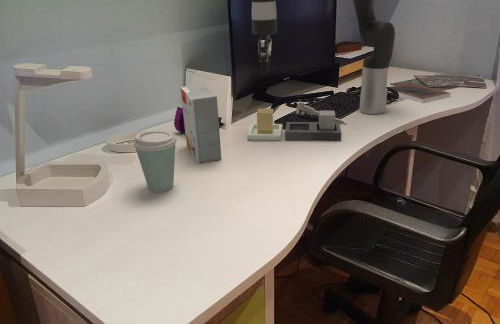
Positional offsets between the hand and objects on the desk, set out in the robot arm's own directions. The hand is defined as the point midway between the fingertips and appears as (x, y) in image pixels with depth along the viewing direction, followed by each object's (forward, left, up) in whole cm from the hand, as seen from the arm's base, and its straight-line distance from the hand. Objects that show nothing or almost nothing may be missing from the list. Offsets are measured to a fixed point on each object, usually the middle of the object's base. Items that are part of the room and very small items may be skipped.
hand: (265, 70), depth 133 cm
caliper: (-19, -15, -23) cm, 33 cm away
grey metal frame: (-15, +1, -22) cm, 27 cm away
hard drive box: (+19, +17, -22) cm, 33 cm away
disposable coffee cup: (+25, +40, -22) cm, 52 cm away
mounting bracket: (+24, -5, -23) cm, 33 cm away
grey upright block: (-20, +1, -22) cm, 30 cm away
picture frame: (-60, -51, -23) cm, 82 cm away
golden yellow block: (0, +1, -21) cm, 21 cm away
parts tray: (+1, +1, -22) cm, 22 cm away
